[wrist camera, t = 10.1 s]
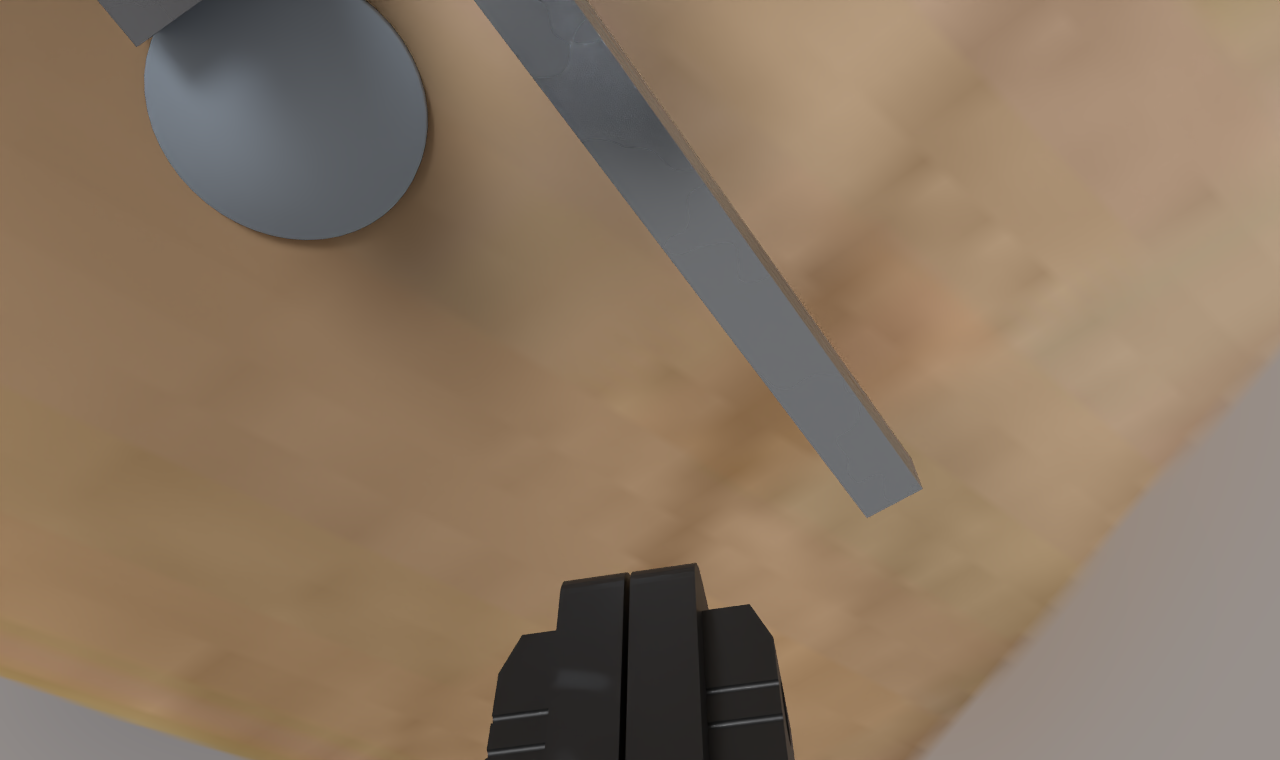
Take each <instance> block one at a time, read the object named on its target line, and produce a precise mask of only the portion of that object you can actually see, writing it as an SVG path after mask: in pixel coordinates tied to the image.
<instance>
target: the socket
mask: <svg viewBox="0 0 1280 760" xmlns="http://www.w3.org/2000/svg"><path fill="white" fill-rule="evenodd" d="M98 1H99V3H100V4H101V5H102V6H103V7H104V9H105V10H106V11H107V12H108V13H109V15H110V16H111V17H112V18H113V19H114V21H115V22H116V23H117V24H118V25H119V27H120V28H121V29H122V30H123V31H124V33H125V34H126V35H127V36H128V37H129V38H130V40H131V41H132V42H133V43H134V44H135V46H136V47H137V46H139V45H140V44H142V43H143V42H145V41H146V40H148V39H149V38H151V37H152V36H153V35H155V34H156V33H158V32H159V31H161V30H162V29H164V28H165V27H166V26H168V25H169V24H171V23H172V22H173V21H175V20H176V19H177V18H179V17H180V16H182V15H183V14H184V13H186V12H187V11H189V10H190V9H191V8H193V7H194V6H196V5H197V4H198V3H200V2H201V1H203V0H98Z"/></svg>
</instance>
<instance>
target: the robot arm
mask: <svg viewBox="0 0 1280 760" xmlns="http://www.w3.org/2000/svg"><path fill="white" fill-rule="evenodd" d="M492 717H493V724H491V726H490V733H489V739H488V746H487V752H488V758H486V759H485V760H795V759H794V751H793V743H792V736H791V728H790V723H789V718H788V713H787V707H786V702H785V697H784V692H783V686H782V681H781V676H780V671H779V665H778V660H777V655H776V650H775V644H774V639H773V637H772V635H771V634H770V632H769V631H768V630H767V628H766V627H765V625H764V624H763V623H762V621H761V620H760V618H759V617H758V615H757V614H756V613H755V611H754V610H753V608H752V607H751V606H750V604H747V605H740V606H733V607H726V608H718V609H711V610H709V609H708V605H707V600H706V596H705V592H704V587H703V583H702V579H701V575H700V571H699V568H698V565H697V563H692V564H685V565H678V566H671V567H664V568H657V569H650V570H643V571H636V572H632V573H631V576H630V574H629V573H620V574H613V575H606V576H599V577H592V578H585V579H578V580H571V581H564V582H563V584H562V586H561V591H560V599H559V609H558V619H557V629H556V631H549V632H541V633H534V634H527V635H522V636H521V638H520V640H519V641H518V643H517V645H516V646H515V648H514V649H513V651H512V653H511V654H510V656H509V658H508V659H507V661H506V662H505V664H504V666H503V667H502V669H501V671H500V672H499V674H498V680H497V687H496V693H495V700H494V706H493V713H492Z"/></svg>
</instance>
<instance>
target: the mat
mask: <svg viewBox="0 0 1280 760" xmlns="http://www.w3.org/2000/svg"><path fill="white" fill-rule="evenodd" d="M144 81H145V98H146V105H147V111H148V114H149V118H150V121H151V125H152V128H153V131H154V133H155V135H156V138H157V140H158V143H159V145H160V147H161V149H162V150H163V152H164V154H165V156H166V157H167V159H168V161H169V162H170V164H171V165H172V167H173V168H174V169H175V171H176V172H177V173H178V175H179V176H180V177H181V179H182V180H183V181H184V182H185V183H186V184H187V185H188V186H189V187H190V188H191V190H192V191H193V192H195V193H196V194H197V195H198V196H199V197H200V198H201V199H202V200H204V201H205V202H206V203H207V204H208V205H210V206H211V207H213V208H214V209H215V210H217V211H218V212H220V213H221V214H223V215H224V216H226V217H228V218H230V219H232V220H233V221H235V222H237V223H239V224H241V225H243V226H246V227H248V228H250V229H253V230H255V231H259V232H262V233H265V234H268V235H272V236H277V237H282V238H288V239H299V240H316V239H327V238H332V237H338V236H342V235H345V234H348V233H351V232H354V231H357V230H359V229H361V228H363V227H365V226H367V225H369V224H371V223H372V222H374V221H376V220H377V219H379V218H380V217H382V216H383V215H384V214H385V213H386V212H388V211H389V210H390V209H391V208H392V207H393V206H394V205H395V204H396V203H397V202H398V201H399V199H400V198H401V197H402V196H403V195H404V193H405V192H406V190H407V189H408V187H409V185H410V184H411V182H412V180H413V179H414V177H415V174H416V172H417V170H418V167H419V165H420V163H421V160H422V157H423V153H424V149H425V145H426V139H427V130H428V111H427V103H426V97H425V91H424V88H423V84H422V81H421V77H420V74H419V72H418V69H417V67H416V65H415V62H414V60H413V58H412V56H411V54H410V52H409V50H408V49H407V47H406V45H405V44H404V42H403V40H402V39H401V37H400V36H399V35H398V33H397V32H396V31H395V29H394V28H393V27H392V25H391V24H390V23H389V22H388V21H387V20H386V19H385V18H384V17H383V16H382V15H381V14H380V13H379V12H378V11H377V9H375V8H374V7H373V6H372V5H371V4H369V3H368V2H367V1H366V0H203V1H201V2H200V3H198V4H197V5H196V6H194V7H193V8H191V9H190V10H189V11H187V12H186V13H184V14H183V15H182V16H180V17H179V18H177V19H176V20H175V21H173V22H172V23H171V24H169V25H168V26H166V27H165V28H164V29H162V30H161V31H159V32H158V33H156V34H155V35H154V36H153V38H152V40H151V43H150V47H149V51H148V54H147V58H146V66H145V74H144Z"/></svg>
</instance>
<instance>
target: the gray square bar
mask: <svg viewBox="0 0 1280 760" xmlns="http://www.w3.org/2000/svg"><path fill="white" fill-rule="evenodd" d="M474 1H475V2H476V4H477V5H478V6H479V7H480V9H481V10H482V11H483V13H484V14H485V15H486V17H487V18H488V19H489V21H490V22H491V23H492V25H493V26H494V27H495V29H496V30H497V31H498V33H499V34H500V35H501V36H502V38H503V39H504V40H505V42H506V43H507V44H508V46H509V47H510V48H511V50H512V51H513V52H514V54H515V55H516V56H517V58H518V59H519V60H520V62H521V63H522V64H523V65H524V67H525V68H526V69H527V71H528V72H529V73H530V75H531V76H532V77H533V79H534V80H535V81H536V83H537V84H538V85H539V87H540V88H541V89H542V90H543V92H544V93H545V94H546V96H547V97H548V98H549V100H550V101H551V102H552V104H553V105H554V106H555V108H556V109H557V110H558V112H559V113H560V114H561V116H562V117H563V118H564V119H565V121H566V122H567V123H568V125H569V126H570V127H571V129H572V130H573V131H574V133H575V134H576V135H577V137H578V138H579V139H580V141H581V142H582V143H583V144H584V146H585V147H586V148H587V150H588V151H589V152H590V154H591V155H592V156H593V158H594V159H595V160H596V162H597V163H598V164H599V166H600V167H601V168H602V170H603V171H604V172H605V173H606V175H607V176H608V177H609V179H610V180H611V181H612V183H613V184H614V185H615V187H616V188H617V189H618V191H619V192H620V193H621V195H622V196H623V197H624V198H625V200H626V201H627V202H628V204H629V205H630V206H631V208H632V209H633V210H634V212H635V213H636V214H637V216H638V217H639V218H640V220H641V221H642V222H643V224H644V225H645V226H646V227H647V229H648V230H649V231H650V233H651V234H652V235H653V237H654V238H655V239H656V241H657V242H658V243H659V245H660V246H661V247H662V249H663V250H664V251H665V253H666V254H667V255H668V256H669V258H670V259H671V260H672V262H673V263H674V264H675V266H676V267H677V268H678V270H679V271H680V272H681V274H682V275H683V276H684V278H685V279H686V280H687V281H688V283H689V284H690V285H691V287H692V288H693V289H694V291H695V292H696V293H697V295H698V296H699V297H700V299H701V300H702V301H703V303H704V304H705V305H706V307H707V308H708V309H709V310H710V312H711V313H712V314H713V316H714V317H715V318H716V320H717V321H718V322H719V324H720V325H721V326H722V328H723V329H724V330H725V332H726V333H727V334H728V335H729V337H730V338H731V339H732V341H733V342H734V343H735V345H736V346H737V347H738V349H739V350H740V351H741V353H742V354H743V355H744V357H745V358H746V359H747V361H748V362H749V363H750V364H751V366H752V367H753V368H754V370H755V371H756V372H757V374H758V375H759V376H760V378H761V379H762V380H763V382H764V383H765V384H766V386H767V387H768V388H769V390H770V391H771V392H772V393H773V395H774V396H775V397H776V399H777V400H778V401H779V403H780V404H781V405H782V407H783V408H784V409H785V411H786V412H787V413H788V415H789V416H790V417H791V418H792V420H793V421H794V422H795V424H796V425H797V426H798V428H799V429H800V430H801V432H802V433H803V434H804V436H805V437H806V438H807V440H808V441H809V442H810V444H811V445H812V446H813V447H814V449H815V450H816V451H817V453H818V454H819V455H820V457H821V458H822V459H823V461H824V462H825V463H826V465H827V466H828V467H829V469H830V470H831V471H832V472H833V474H834V475H835V476H836V478H837V479H838V480H839V482H840V483H841V484H842V486H843V487H844V488H845V490H846V491H847V492H848V494H849V495H850V496H851V498H852V499H853V500H854V501H855V503H856V504H857V505H858V507H859V508H860V509H861V511H862V512H863V513H864V515H865V516H866V517H867V518H868V517H870V516H872V515H874V514H876V513H877V512H879V511H881V510H883V509H885V508H887V507H889V506H891V505H893V504H895V503H897V502H898V501H900V500H902V499H904V498H906V497H908V496H910V495H912V494H914V493H916V492H918V491H919V490H921V489H923V488H922V486H921V483H920V480H919V478H918V475H917V472H916V470H915V467H914V464H913V462H912V459H911V457H910V456H909V454H908V453H907V452H906V450H905V449H904V447H903V446H902V445H901V443H900V442H899V440H898V439H897V437H896V436H895V435H894V433H893V432H892V430H891V429H890V428H889V426H888V425H887V423H886V422H885V421H884V419H883V418H882V416H881V415H880V413H879V412H878V411H877V409H876V408H875V406H874V405H873V404H872V402H871V401H870V399H869V398H868V397H867V395H866V394H865V392H864V391H863V389H862V388H861V387H860V385H859V384H858V382H857V381H856V380H855V378H854V377H853V375H852V374H851V372H850V371H849V370H848V368H847V367H846V365H845V364H844V363H843V361H842V360H841V358H840V357H839V356H838V354H837V353H836V351H835V350H834V348H833V347H832V346H831V344H830V343H829V341H828V340H827V339H826V337H825V336H824V334H823V333H822V332H821V330H820V329H819V327H818V326H817V324H816V323H815V322H814V320H813V319H812V317H811V316H810V315H809V313H808V312H807V310H806V309H805V308H804V306H803V305H802V303H801V302H800V300H799V299H798V298H797V296H796V295H795V293H794V292H793V291H792V289H791V288H790V286H789V285H788V283H787V282H786V281H785V279H784V278H783V276H782V275H781V274H780V272H779V271H778V269H777V268H776V267H775V265H774V264H773V262H772V261H771V259H770V258H769V257H768V255H767V254H766V252H765V251H764V250H763V248H762V247H761V245H760V244H759V243H758V241H757V240H756V238H755V237H754V235H753V234H752V233H751V231H750V230H749V228H748V227H747V226H746V224H745V223H744V221H743V220H742V219H741V217H740V216H739V214H738V213H737V211H736V210H735V209H734V207H733V206H732V204H731V203H730V202H729V200H728V199H727V197H726V196H725V194H724V193H723V192H722V190H721V189H720V187H719V186H718V185H717V183H716V182H715V180H714V179H713V178H712V176H711V175H710V173H709V172H708V170H707V169H706V168H705V166H704V165H703V163H702V162H701V161H700V159H699V158H698V156H697V155H696V154H695V152H694V151H693V149H692V148H691V146H690V145H689V144H688V142H687V141H686V139H685V138H684V137H683V135H682V134H681V132H680V131H679V129H678V128H677V127H676V125H675V124H674V122H673V121H672V120H671V118H670V117H669V115H668V114H667V113H666V111H665V110H664V108H663V107H662V105H661V104H660V103H659V101H658V100H657V98H656V97H655V96H654V94H653V93H652V91H651V90H650V89H649V87H648V86H647V84H646V83H645V81H644V80H643V79H642V77H641V76H640V74H639V73H638V72H637V70H636V69H635V67H634V66H633V65H632V63H631V62H630V60H629V59H628V57H627V56H626V55H625V53H624V52H623V50H622V49H621V48H620V46H619V45H618V43H617V42H616V40H615V39H614V38H613V36H612V35H611V33H610V32H609V31H608V29H607V28H606V26H605V25H604V24H603V22H602V21H601V19H600V18H599V16H598V15H597V14H596V12H595V11H594V9H593V8H592V7H591V5H590V4H589V2H588V1H587V0H474Z"/></svg>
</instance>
